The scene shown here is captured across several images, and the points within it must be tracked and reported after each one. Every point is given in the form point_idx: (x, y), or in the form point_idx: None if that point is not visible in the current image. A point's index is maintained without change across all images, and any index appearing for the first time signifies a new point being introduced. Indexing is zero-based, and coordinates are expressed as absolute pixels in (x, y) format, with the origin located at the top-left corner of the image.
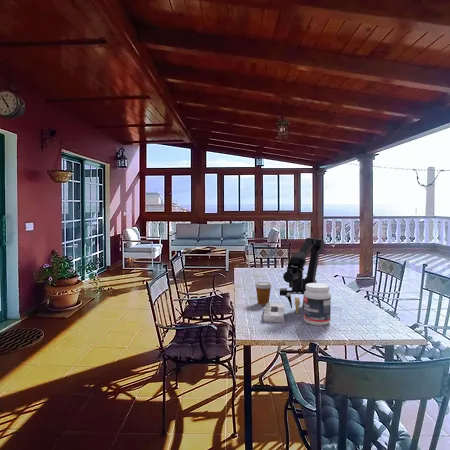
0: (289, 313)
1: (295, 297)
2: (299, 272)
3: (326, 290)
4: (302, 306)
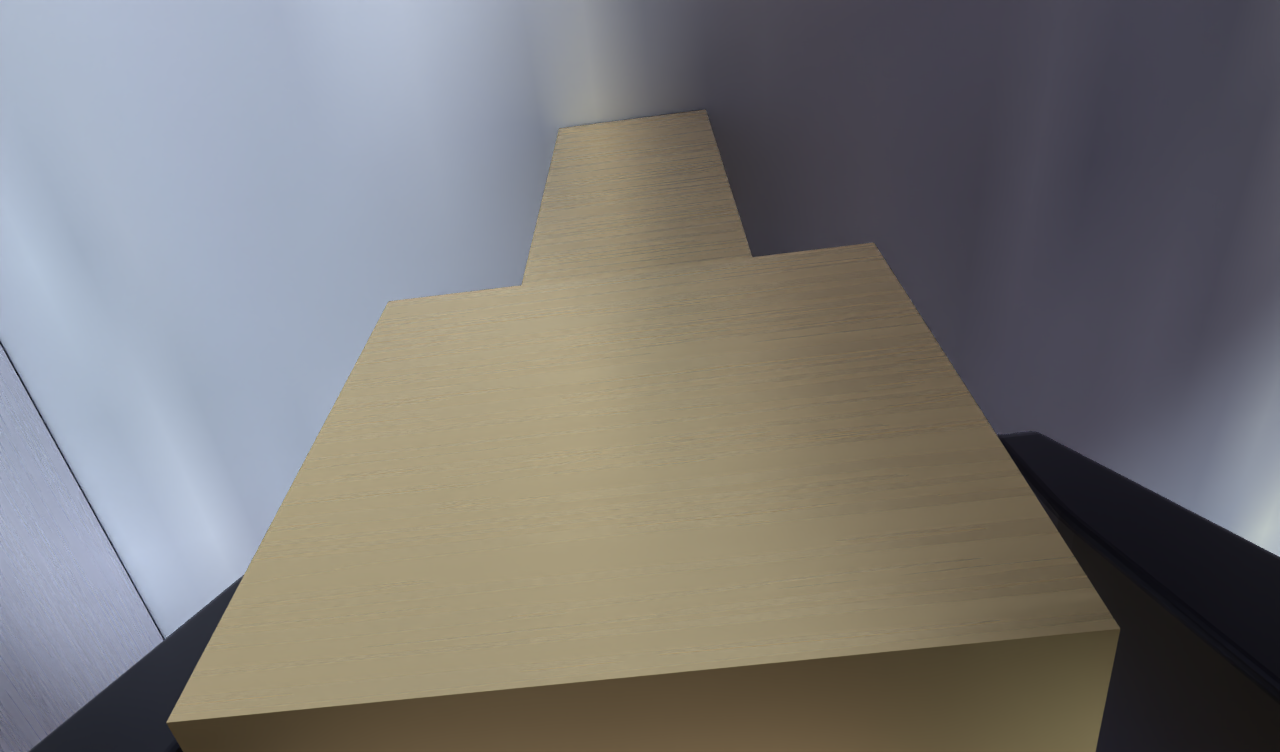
0: None
1: (319, 716)
2: None
3: None
4: None
